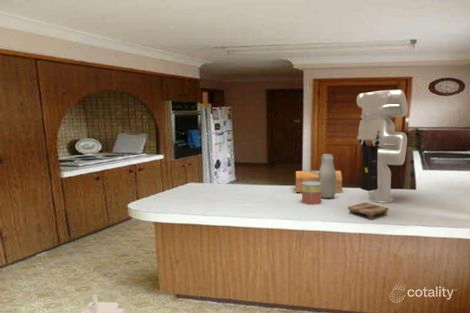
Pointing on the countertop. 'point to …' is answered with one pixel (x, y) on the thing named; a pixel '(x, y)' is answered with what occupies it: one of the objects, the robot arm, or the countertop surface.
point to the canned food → (311, 192)
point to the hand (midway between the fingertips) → (369, 152)
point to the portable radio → (369, 169)
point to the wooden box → (315, 179)
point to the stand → (368, 209)
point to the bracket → (102, 307)
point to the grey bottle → (327, 176)
